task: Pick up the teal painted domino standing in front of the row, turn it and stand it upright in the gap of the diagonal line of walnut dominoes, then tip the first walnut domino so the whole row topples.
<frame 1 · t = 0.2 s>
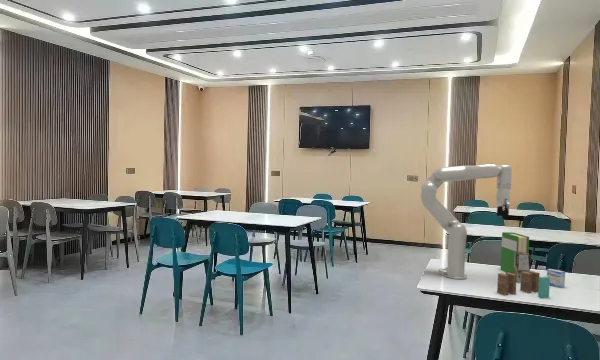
hand: (502, 216, 252), 37 cm above the table, tool pointing down, fingers open, 9 cm apart
gap domino: (543, 297, 221), on the table
domino 4: (525, 291, 230), on the table
domino 1: (502, 293, 224), on the table
domino 2: (510, 293, 226), on the table
coffee box: (521, 281, 251), on the table
hardback book: (513, 273, 272), on the table
domino 5: (533, 291, 231), on the table
medicine box: (555, 286, 244), on the table
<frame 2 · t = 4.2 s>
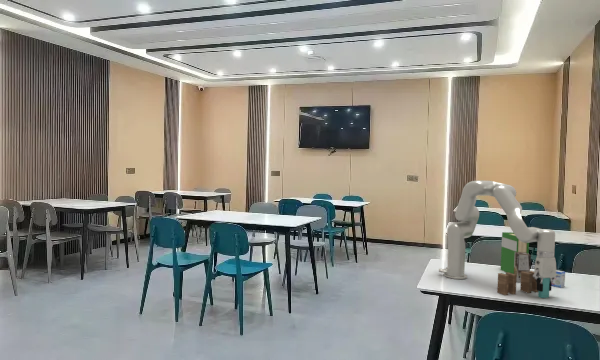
hand: (543, 290, 220), 3 cm above the table, tool pointing down, fingers closed on gap domino, 4 cm apart
gap domino: (543, 297, 220), on the table, touching gripper
everything else where it was.
when the fingers open (5 cm above the table, at t = 9.7 s): gap domino drops 1 cm, on the table.
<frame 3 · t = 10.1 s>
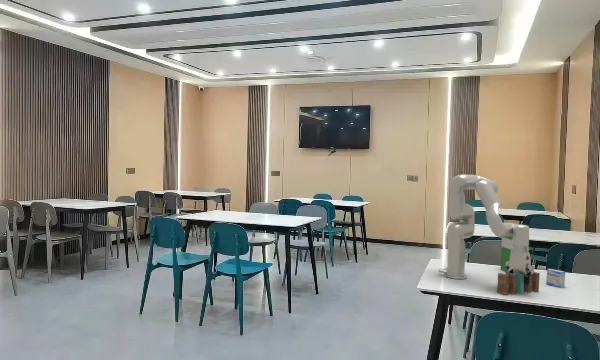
hand: (518, 281, 228), 5 cm above the table, tool pointing down, fingers open, 9 cm apart
gap domino: (517, 292, 228), on the table
everything else where it was.
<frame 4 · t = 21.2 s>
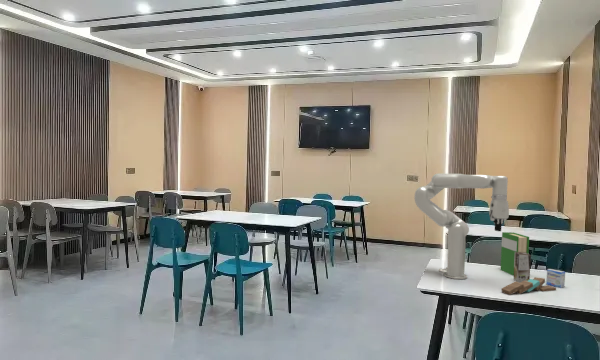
hand: (497, 230, 245), 29 cm above the table, tool pointing down, fingers closed
gap domino: (523, 289, 230), point 1 cm above the table, tilted 71°, touching domino 2, domino 4
domino 4: (532, 287, 233), point 1 cm above the table, tilted 72°, touching domino 5, gap domino
domino 1: (505, 291, 224), point 1 cm above the table, tilted 72°, touching domino 2
domino 2: (515, 291, 227), point 1 cm above the table, tilted 71°, touching domino 1, gap domino
domino 5: (538, 289, 233), on the table, tilted 90°, touching domino 4
everything else where it was.
at the end: domino 5 tilted 90°; gap domino tilted 71°; gap domino inside the target area (2.4 cm from its centre), point 1.0 cm above the table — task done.
